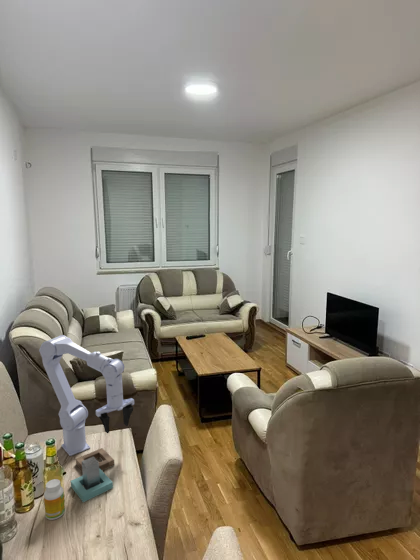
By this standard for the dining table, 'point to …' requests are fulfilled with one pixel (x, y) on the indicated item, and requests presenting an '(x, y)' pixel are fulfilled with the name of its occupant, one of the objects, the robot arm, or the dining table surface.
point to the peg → (90, 473)
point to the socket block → (101, 453)
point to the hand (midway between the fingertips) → (116, 428)
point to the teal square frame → (94, 491)
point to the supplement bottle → (54, 500)
